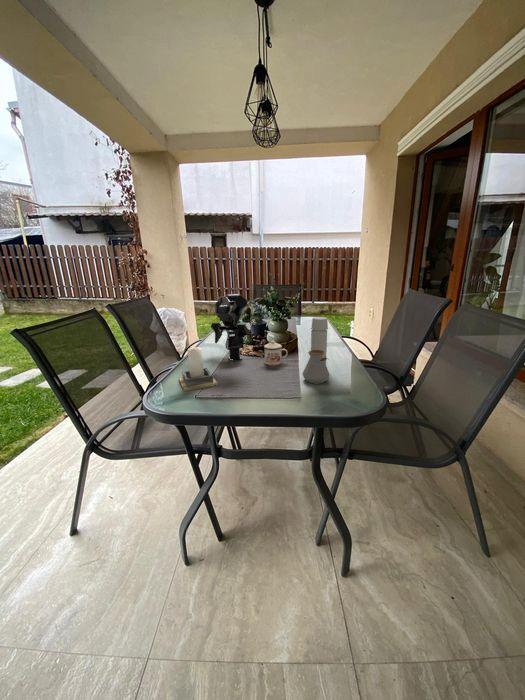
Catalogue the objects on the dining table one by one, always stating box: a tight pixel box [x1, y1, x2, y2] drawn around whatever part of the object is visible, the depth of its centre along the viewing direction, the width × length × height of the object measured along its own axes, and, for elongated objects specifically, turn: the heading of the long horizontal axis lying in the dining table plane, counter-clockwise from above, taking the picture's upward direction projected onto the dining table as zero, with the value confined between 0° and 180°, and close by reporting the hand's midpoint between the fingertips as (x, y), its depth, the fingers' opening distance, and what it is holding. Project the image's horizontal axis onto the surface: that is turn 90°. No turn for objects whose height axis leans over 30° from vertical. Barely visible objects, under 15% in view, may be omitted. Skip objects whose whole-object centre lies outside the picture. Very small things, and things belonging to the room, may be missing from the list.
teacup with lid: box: [263, 340, 289, 366], centre depth 147 cm, size 12×9×12 cm
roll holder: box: [178, 367, 219, 392], centre depth 125 cm, size 14×14×4 cm
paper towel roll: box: [187, 346, 205, 379], centre depth 123 cm, size 6×6×14 cm
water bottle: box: [310, 316, 329, 365], centre depth 133 cm, size 9×8×25 cm
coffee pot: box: [302, 349, 330, 385], centre depth 118 cm, size 21×12×15 cm, turn 3°
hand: (223, 343), depth 135 cm, fingers open, 9 cm apart
